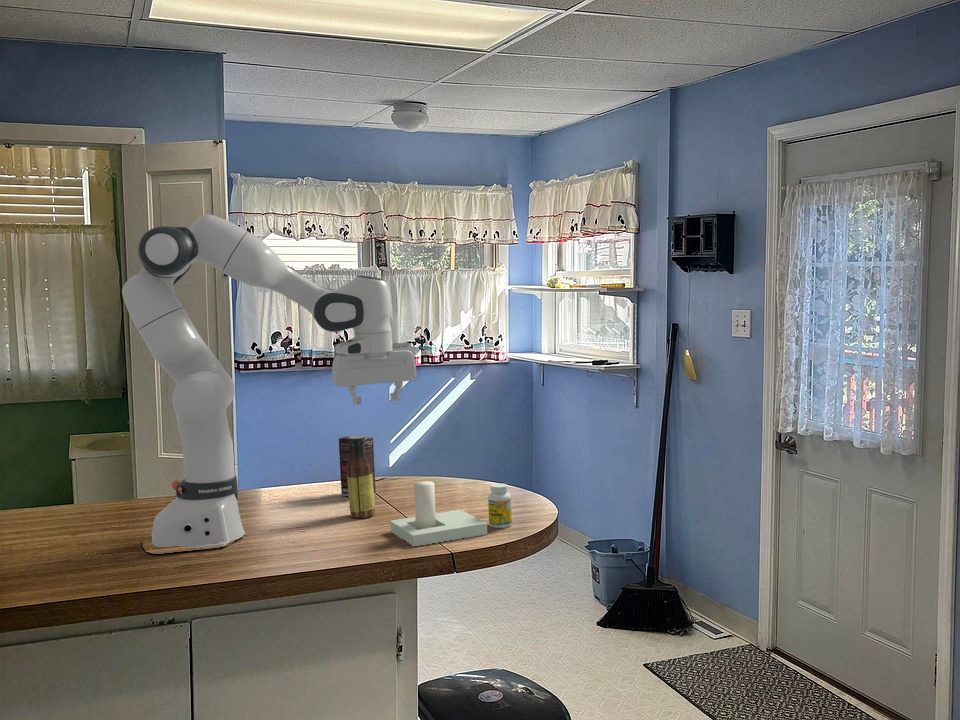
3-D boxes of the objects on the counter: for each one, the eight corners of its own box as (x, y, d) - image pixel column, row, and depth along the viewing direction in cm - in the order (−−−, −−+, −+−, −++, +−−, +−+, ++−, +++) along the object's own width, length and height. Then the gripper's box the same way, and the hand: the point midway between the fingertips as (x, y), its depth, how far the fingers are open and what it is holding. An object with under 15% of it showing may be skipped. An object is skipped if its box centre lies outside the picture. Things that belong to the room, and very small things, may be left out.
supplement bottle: (515, 523, 217) (514, 483, 216) (505, 529, 212) (504, 488, 211) (495, 521, 220) (494, 481, 219) (484, 527, 215) (483, 486, 214)
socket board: (413, 547, 201) (413, 535, 201) (390, 531, 213) (390, 520, 213) (487, 534, 209) (486, 523, 209) (460, 520, 221) (460, 509, 221)
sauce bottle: (377, 512, 231) (374, 434, 229) (372, 519, 225) (368, 438, 223) (352, 512, 232) (348, 434, 230) (346, 519, 225) (342, 439, 223)
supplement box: (376, 495, 248) (374, 437, 247) (365, 499, 244) (362, 440, 243) (351, 492, 253) (349, 435, 251) (340, 496, 249) (337, 438, 247)
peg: (420, 539, 207) (418, 486, 206) (412, 534, 211) (410, 482, 210) (439, 536, 209) (437, 484, 208) (431, 531, 213) (429, 480, 212)
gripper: (409, 340, 225) (411, 397, 226) (328, 346, 216) (331, 404, 217) (419, 342, 219) (421, 400, 221) (336, 348, 210) (339, 407, 212)
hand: (376, 402), depth 219 cm, fingers open, 8 cm apart
